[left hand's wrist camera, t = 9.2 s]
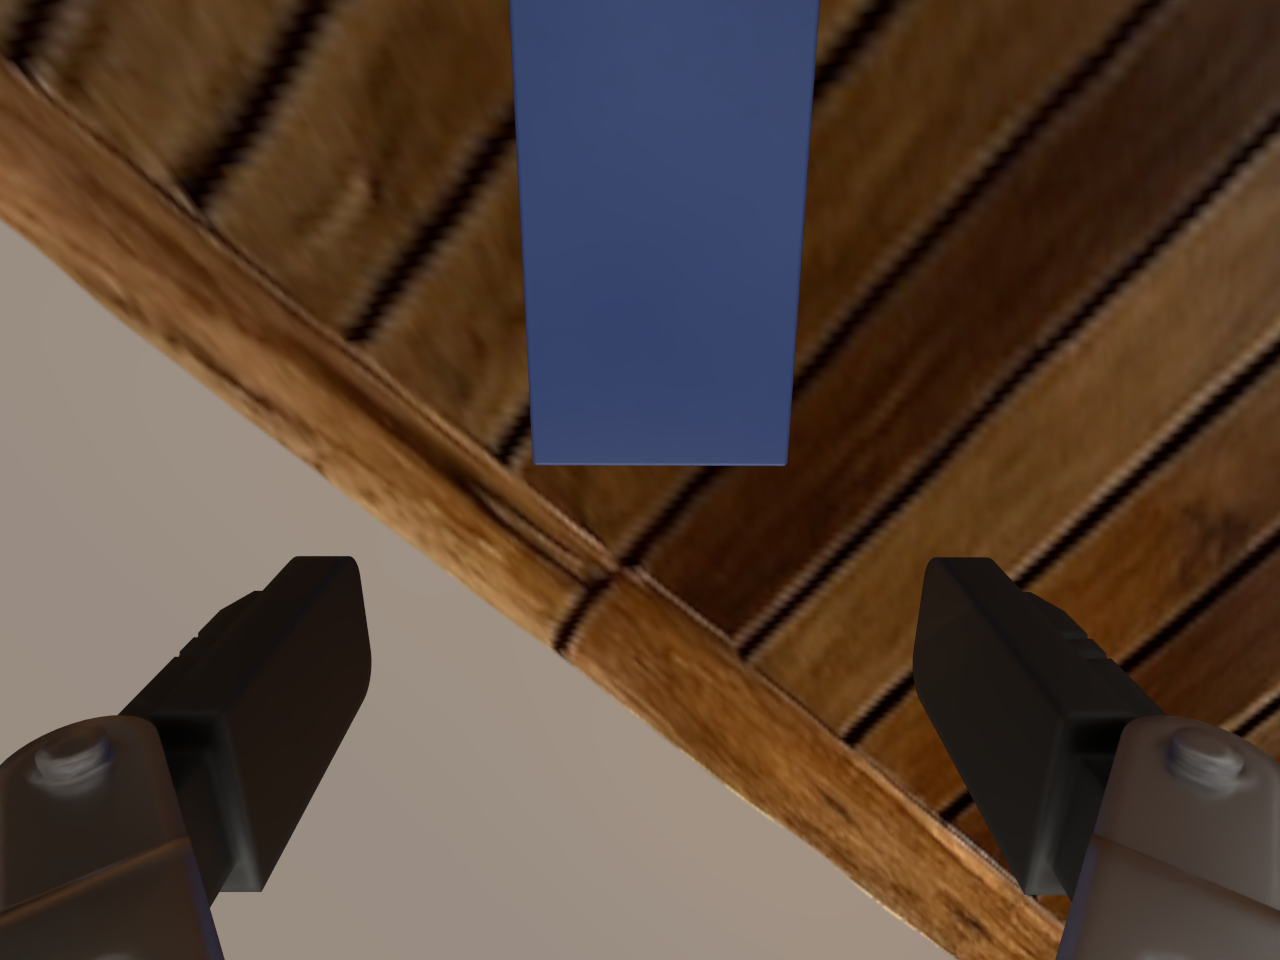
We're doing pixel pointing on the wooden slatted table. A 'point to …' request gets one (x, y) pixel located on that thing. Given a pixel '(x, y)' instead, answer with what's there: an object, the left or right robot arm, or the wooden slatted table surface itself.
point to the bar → (662, 224)
